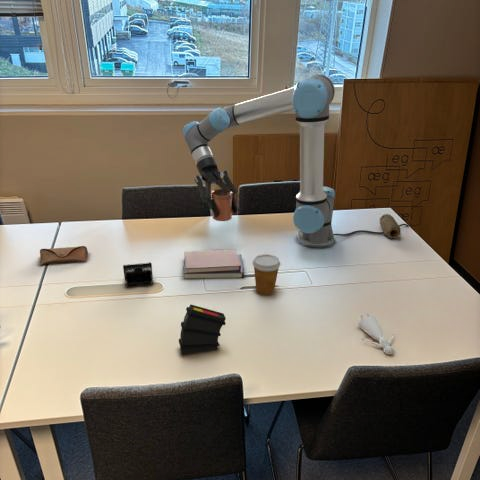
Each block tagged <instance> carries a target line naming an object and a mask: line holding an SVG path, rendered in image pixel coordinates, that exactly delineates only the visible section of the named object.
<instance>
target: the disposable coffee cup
mask: <svg viewBox="0 0 480 480" xmlns="http://www.w3.org/2000/svg"><path fill="white" fill-rule="evenodd" d="M252 266H253V271H254V282H255V290H256V293H257V294H259V295H264V296H268V295H271V294H273V293H275V288H276V283H277V278H278V274H279V268H280V266H281V262H280V259H279V257H277V256H276V255H272V254H259V255H256V256H255V257H254V259H253V261H252Z"/></svg>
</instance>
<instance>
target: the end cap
mask: <svg viewBox="0 0 480 480" xmlns="http://www.w3.org/2000/svg"><path fill="white" fill-rule="evenodd" d="M122 269H123V277H124V278H123V279H124V281H125V283H126V288H128V289H130V288H137V287H147V286H153V285H154V284H153V279H154V275H153V265H152V262H151V261H150V262H140V263H129V264H123V265H122Z"/></svg>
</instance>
